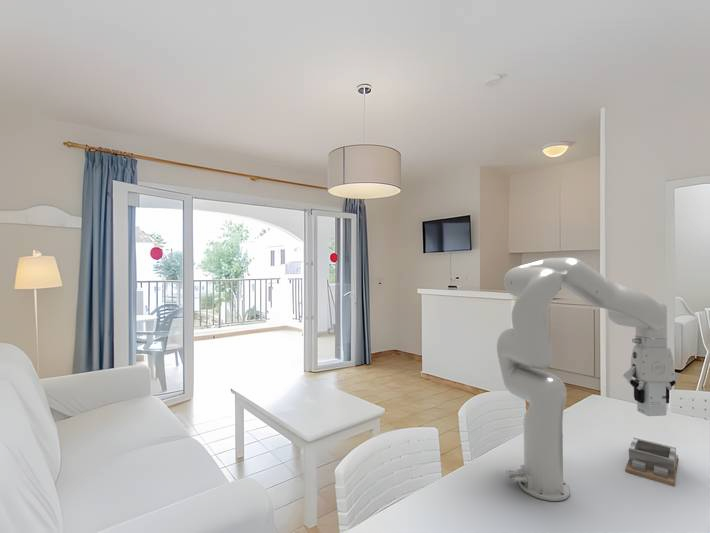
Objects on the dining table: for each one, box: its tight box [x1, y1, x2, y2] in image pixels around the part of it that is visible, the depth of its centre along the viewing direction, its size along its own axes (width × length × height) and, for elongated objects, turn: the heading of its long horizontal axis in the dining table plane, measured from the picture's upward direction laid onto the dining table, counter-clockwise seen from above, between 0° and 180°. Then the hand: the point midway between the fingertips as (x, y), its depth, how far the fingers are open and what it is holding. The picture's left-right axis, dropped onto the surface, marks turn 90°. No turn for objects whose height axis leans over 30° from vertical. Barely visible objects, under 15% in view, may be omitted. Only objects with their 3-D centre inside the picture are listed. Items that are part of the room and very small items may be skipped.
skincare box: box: [636, 380, 667, 417], centre depth 114 cm, size 6×4×12 cm
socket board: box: [624, 437, 679, 487], centre depth 114 cm, size 20×11×5 cm, turn 137°
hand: (651, 401), depth 114 cm, fingers closed on skincare box, 6 cm apart
